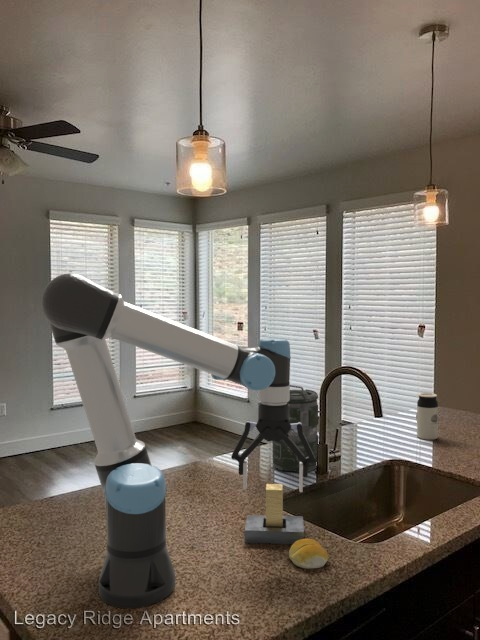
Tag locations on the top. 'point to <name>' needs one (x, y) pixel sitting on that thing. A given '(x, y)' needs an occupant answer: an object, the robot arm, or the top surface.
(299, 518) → the grey slotted block
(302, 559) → the bread roll
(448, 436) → the top surface
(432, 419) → the travel mug
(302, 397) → the canister
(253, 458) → the top surface
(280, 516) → the brass peg
